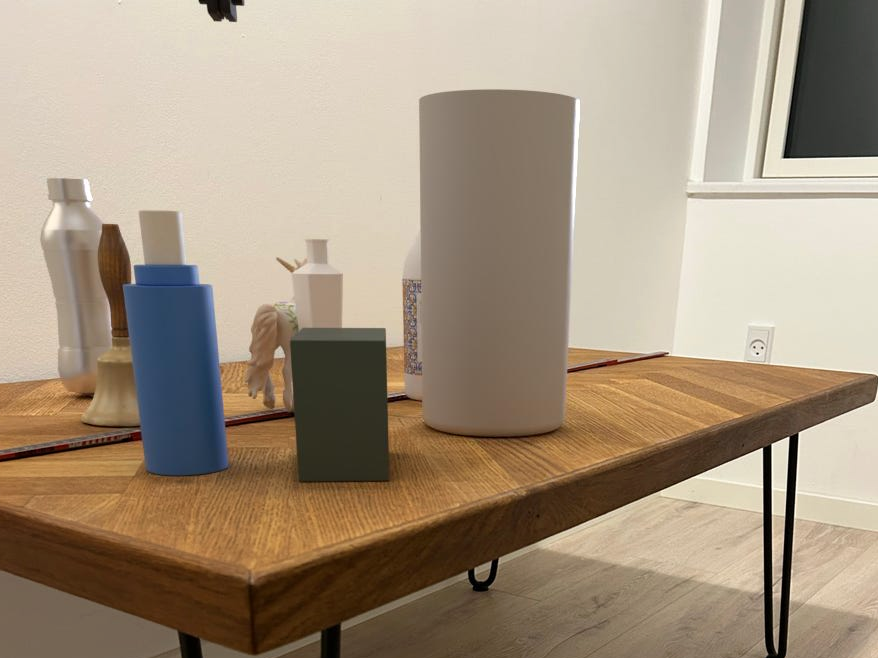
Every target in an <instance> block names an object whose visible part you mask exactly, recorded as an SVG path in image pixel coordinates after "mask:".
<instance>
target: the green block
mask: <svg viewBox="0 0 878 658" xmlns="http://www.w3.org/2000/svg"><path fill="white" fill-rule="evenodd" d="M290 351H291V367H292V391H293V398H294V412H293V414H294V428H295V430H294V431H295V441H296V442H295V444H296V460H297V476H298V482H299V483H300V482H301V483H303V482H304V483H305V482H306V483H309V482H311V483H312V482H313V483H315V482H317V483H318V482H389V481H390V445H389V444H390V443H389V442H390V441H389V438H390V437H389V406H388V403H389V402H388V366H387V365H388V364H387V362H388V361H387V360H388V359H387V329H386V328H385V327H342V328H302V329H301V330H300V331H299V332H298V333H297V334H296V335H295V336H294V337H293V338H292V339H291V340H290Z"/></svg>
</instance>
